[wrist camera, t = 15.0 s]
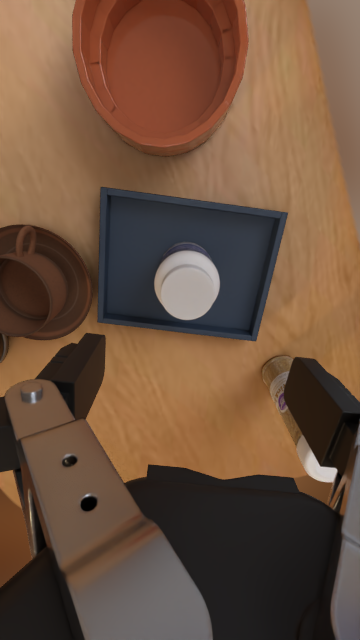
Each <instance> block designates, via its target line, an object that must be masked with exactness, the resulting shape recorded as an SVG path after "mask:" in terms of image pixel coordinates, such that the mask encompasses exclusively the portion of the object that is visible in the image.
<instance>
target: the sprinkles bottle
mask: <svg viewBox="0 0 360 640" xmlns="http://www.w3.org/2000/svg"><path fill="white" fill-rule="evenodd" d="M293 360H294V359H292V358H290V357H288V356H279V357H275V358H272V359H271V360H269V361H268V362H267V363H266V364H265V366H264V367H263V370H262V378H263V381H264V382H265V383H266V385H267V387H268V389H269V391H270V394H271V397H272V399H273V401H274V403H275V405H276V407H277V409H278V411H279V413H280V415H281V417H282V419H283V420H284V423H285V425H286V427H287V429H288V431H289V432H290V435H291V437H292V439H293V441H294V443H295V445H296V448H297V454H298V456H299V458H300V461H301V463H302V465H303V467H304V469H305V470H306V472H307V473H308V474H309V475H310V476H311V477H313V478H314V479H316V480H318V481H322V482H333V480H334V477H335V475H336V473H337V469H336V468H330V467H320V465H319V463H318V461H317V460H316V458H315V456H314V454H313V452H312V450H311V449H310V447H309V445H308V443H307V441H306V440H305V438H304V436H303V434H302V432H301V431H300V429H299V427H298V425H297V423H296V421H295V420H294V418H293V416H292V414H291V412H290V411H289V409H288V407H287V405H286V403H285V401H284V387H285V384H286V381H287V377H288V374H289V371H290V368H291V364H292V361H293Z"/></svg>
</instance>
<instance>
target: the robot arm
mask: <svg viewBox="0 0 360 640" xmlns="http://www.w3.org/2000/svg"><path fill="white" fill-rule="evenodd" d="M8 345H9V344H8V336H7V335H3V334H1V333H0V363H1V362H2V361H3V360H4V358H5V357H6V354H7V352H8ZM105 345H106V338H105V335H100V334H91V333H86V334H85V335H84V336H83V338H82V339H81V340H80V342H79V343H78V344H75V343H71V344H69V345H67V346H65V347H63V348H61V349H60V350H59V351H58V353H57V354H56V355H55V357H53V358H52V360H51V361H50V362H49V363H48V364H47V365H46V367H45V368H44V369H43V370H42V371H41V372H40V374H39V375H38V376H37V377H36V378H35V379H32V380H26V381H23V382H20V383H17V384H15V385H14V386H12V387H11V388H9V389H8V390H7V392H6V393H5V396H4V397H0V472H4V471H9V470H13V473H14V477H15V481H16V486H17V490H18V494H19V498H20V502H21V506H22V510H23V514H24V518H25V522H26V527H27V533H28V539H29V545H30V550H31V555H32V560H31V561H30V562H29V563H28V564H26V565H25V566H24V567H23V568H22V569H21V570H20V571H19V572H17V573H16V574H15V575H14V576H13V577H12V578H11V579H10V580H9V581H7V582H6V583H5V584H4V585H3V586H2V587H1V588H0V640H360V402H359V401H358V400H357V399H356V398H355V397H354V396H353V395H351V393H350V391H349V390H348V389H347V388H345V386H344V385H343V384H342V383H341V382H340V381H339V380H338V379H337V378H335V377H334V376H332V375H331V374H329V373H328V372H326V370H325V369H324V368H323V367H322V366H321V365H320V364H319V363H318V362H317V361H316V360H315V359H310V358H301V357H295V358H294V360H293V361H292V364H291V368H290V371H289V374H288V377H287V381H286V384H285V387H284V401H285V403H286V405H287V407H288V409H289V411H290V412H291V414H292V416H293V418H294V420H295V421H296V423H297V425H298V427H299V429H300V431H301V432H302V434H303V436H304V438H305V440H306V441H307V443H308V445H309V447H310V449H311V450H312V452H313V454H314V456H315V458H316V460H317V461H318V463H319V465H320V467H330V468H336V469H337V473H336V475H335V477H334V480H333V484H332V488H331V491H330V495H329V498H328V502H327V505H326V504H325V503H323V502H321V501H320V500H317V499H316V498H314V497H312V496H310V495H307V494H305V493H303V492H299V490H298V488H297V485H296V483H295V481H294V478H290V477H279V476H268V475H253V476H246V477H240V478H233V479H227V480H222V479H218V478H215V477H212V476H209V475H205V474H202V473H199V472H196V471H193V470H190V469H187V468H181V467H170V466H159V465H148V471H147V477H143V478H138V479H134V480H131V481H128V482H126V483H124V482H123V481H122V479H121V477H120V476H119V474H118V472H117V471H116V469H115V467H114V466H113V464H112V462H111V461H110V459H109V457H108V456H107V454H106V452H105V451H104V449H103V447H102V446H101V444H100V442H99V441H98V439H97V437H96V436H95V434H94V432H93V431H92V429H91V427H90V426H89V424H88V422H87V421H86V420H85V419H86V417H87V415H88V413H89V411H90V408H91V406H92V404H93V402H94V399H95V397H96V395H97V393H98V391H99V388H100V386H101V384H102V381H103V377H104V371H105Z"/></svg>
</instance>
